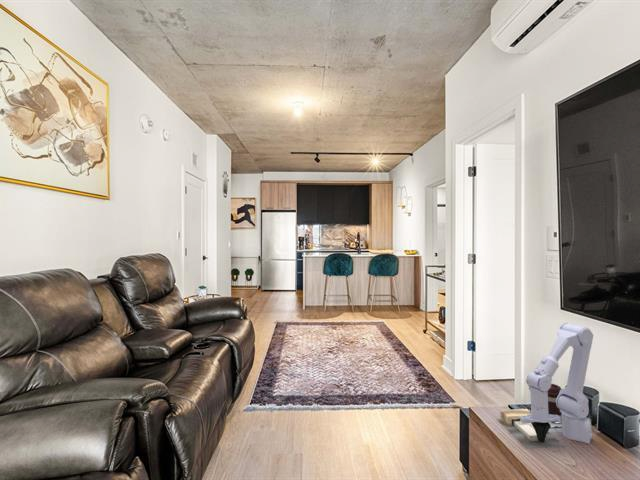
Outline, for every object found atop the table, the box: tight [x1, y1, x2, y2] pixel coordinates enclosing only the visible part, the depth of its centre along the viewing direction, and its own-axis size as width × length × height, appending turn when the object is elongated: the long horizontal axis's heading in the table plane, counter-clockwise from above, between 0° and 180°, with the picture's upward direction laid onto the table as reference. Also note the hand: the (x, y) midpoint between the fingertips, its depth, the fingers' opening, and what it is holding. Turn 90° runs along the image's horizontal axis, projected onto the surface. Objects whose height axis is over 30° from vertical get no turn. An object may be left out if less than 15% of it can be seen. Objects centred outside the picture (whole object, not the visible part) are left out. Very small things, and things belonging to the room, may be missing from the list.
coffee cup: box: [547, 383, 562, 422], centre depth 159 cm, size 10×10×15 cm
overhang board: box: [496, 408, 566, 449], centre depth 150 cm, size 23×15×5 cm, turn 1°
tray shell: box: [514, 421, 547, 441], centre depth 148 cm, size 12×6×2 cm, turn 1°
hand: (541, 440), depth 141 cm, fingers closed, pressing on tray shell
